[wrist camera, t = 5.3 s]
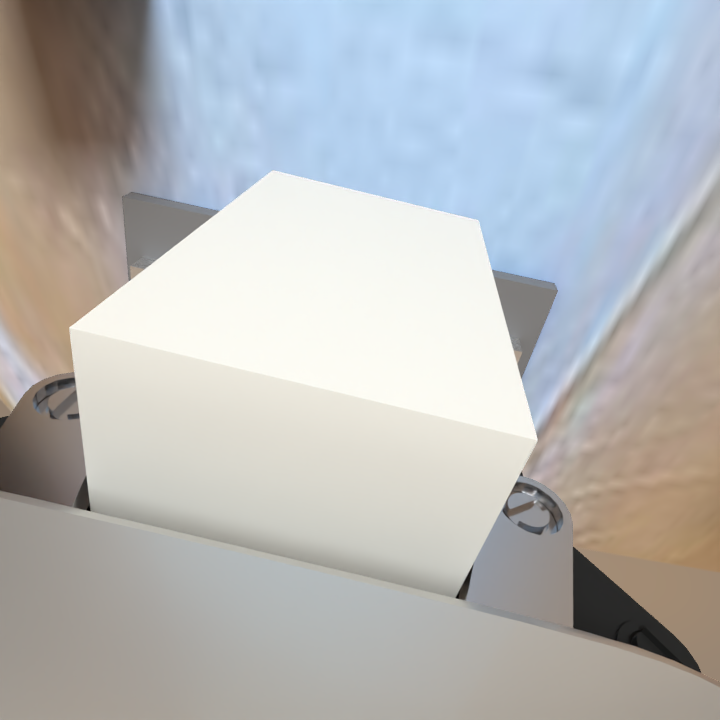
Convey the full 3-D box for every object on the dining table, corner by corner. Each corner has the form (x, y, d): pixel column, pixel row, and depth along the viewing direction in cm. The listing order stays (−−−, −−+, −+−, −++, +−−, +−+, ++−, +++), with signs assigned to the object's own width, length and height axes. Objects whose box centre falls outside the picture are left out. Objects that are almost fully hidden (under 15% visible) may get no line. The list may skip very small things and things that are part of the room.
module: (478, 220, 11) (537, 439, 5) (393, 472, 15) (367, 765, 9) (272, 170, 11) (68, 327, 5) (243, 436, 15) (113, 706, 9)
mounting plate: (554, 283, 28) (558, 290, 27) (497, 422, 33) (498, 432, 33) (131, 192, 29) (122, 196, 28) (142, 343, 34) (134, 350, 33)
